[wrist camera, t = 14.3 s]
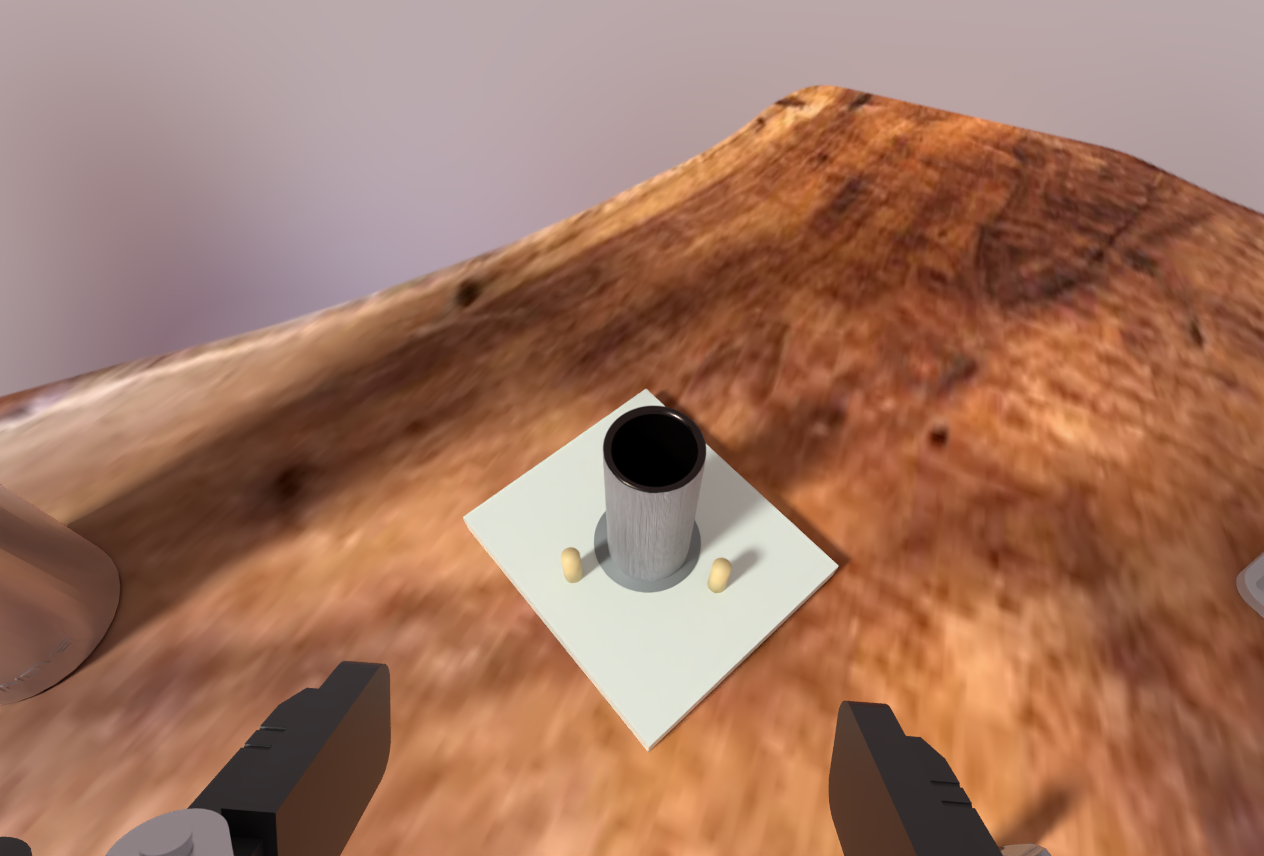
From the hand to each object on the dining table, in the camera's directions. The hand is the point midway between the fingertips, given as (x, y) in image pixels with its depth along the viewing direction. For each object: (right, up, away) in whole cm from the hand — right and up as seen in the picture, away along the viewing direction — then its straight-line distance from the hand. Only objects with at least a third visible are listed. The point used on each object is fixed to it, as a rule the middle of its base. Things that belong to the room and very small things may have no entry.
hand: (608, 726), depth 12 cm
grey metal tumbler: (+1, -1, +27) cm, 27 cm away
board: (+1, -2, +28) cm, 28 cm away
